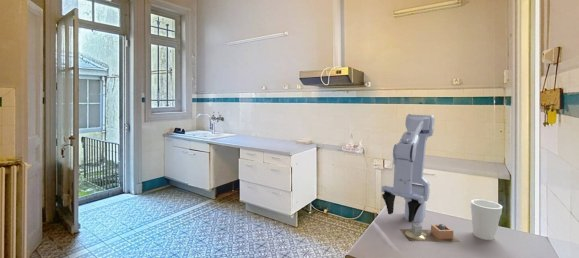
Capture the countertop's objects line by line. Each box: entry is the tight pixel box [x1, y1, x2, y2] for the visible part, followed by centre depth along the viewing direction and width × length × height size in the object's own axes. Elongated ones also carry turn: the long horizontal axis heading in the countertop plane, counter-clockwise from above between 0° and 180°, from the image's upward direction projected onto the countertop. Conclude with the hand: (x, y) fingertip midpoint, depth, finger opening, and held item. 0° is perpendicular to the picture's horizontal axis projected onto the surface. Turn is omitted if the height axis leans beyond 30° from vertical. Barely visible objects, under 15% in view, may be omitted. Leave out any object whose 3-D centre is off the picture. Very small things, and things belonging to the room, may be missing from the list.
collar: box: [430, 223, 454, 239], centre depth 104 cm, size 5×5×3 cm
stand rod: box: [439, 223, 447, 230], centre depth 104 cm, size 2×2×4 cm
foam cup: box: [470, 198, 503, 241], centre depth 104 cm, size 10×9×13 cm
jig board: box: [399, 228, 461, 243], centre depth 105 cm, size 18×9×1 cm, turn 90°
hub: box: [404, 223, 428, 240], centre depth 104 cm, size 8×8×4 cm
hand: (400, 217), depth 99 cm, fingers open, 7 cm apart
